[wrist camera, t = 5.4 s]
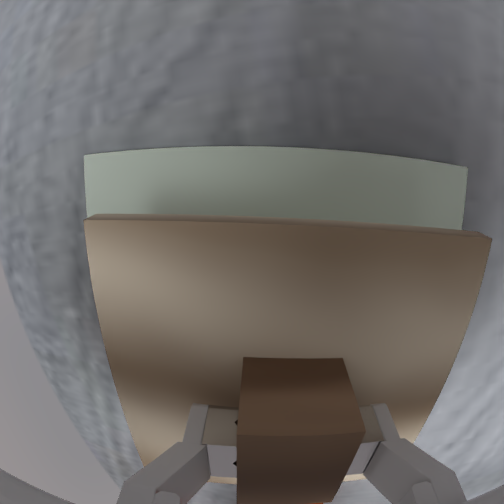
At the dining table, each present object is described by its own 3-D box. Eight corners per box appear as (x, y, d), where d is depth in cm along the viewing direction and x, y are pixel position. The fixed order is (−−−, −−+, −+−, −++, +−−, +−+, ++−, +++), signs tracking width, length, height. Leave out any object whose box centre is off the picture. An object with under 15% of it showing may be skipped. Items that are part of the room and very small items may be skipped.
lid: (96, 213, 9) (15, 256, 5) (478, 231, 8) (555, 275, 5) (150, 460, 12) (132, 521, 9) (390, 462, 12) (407, 520, 9)
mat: (89, 154, 13) (84, 155, 13) (462, 166, 13) (467, 167, 12) (137, 435, 18) (136, 440, 18) (395, 436, 18) (397, 441, 17)
